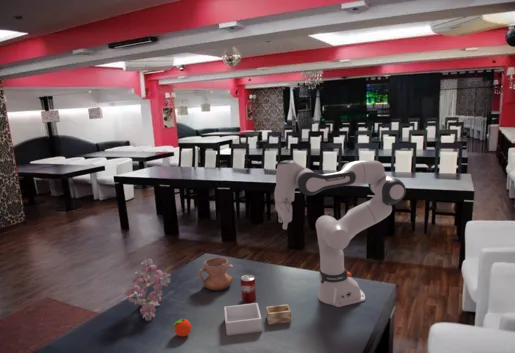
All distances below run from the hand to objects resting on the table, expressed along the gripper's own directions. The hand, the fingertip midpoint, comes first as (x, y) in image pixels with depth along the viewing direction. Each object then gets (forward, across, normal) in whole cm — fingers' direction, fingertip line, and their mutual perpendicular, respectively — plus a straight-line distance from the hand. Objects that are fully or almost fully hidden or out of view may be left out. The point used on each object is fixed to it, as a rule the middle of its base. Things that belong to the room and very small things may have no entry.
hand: (282, 225), depth 177 cm
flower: (+45, +5, +60) cm, 75 cm away
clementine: (+44, -16, +44) cm, 64 cm away
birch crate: (+39, -13, +2) cm, 41 cm away
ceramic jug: (+42, +24, +28) cm, 56 cm away
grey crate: (+41, -14, +18) cm, 47 cm away
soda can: (+40, +6, +13) cm, 43 cm away
